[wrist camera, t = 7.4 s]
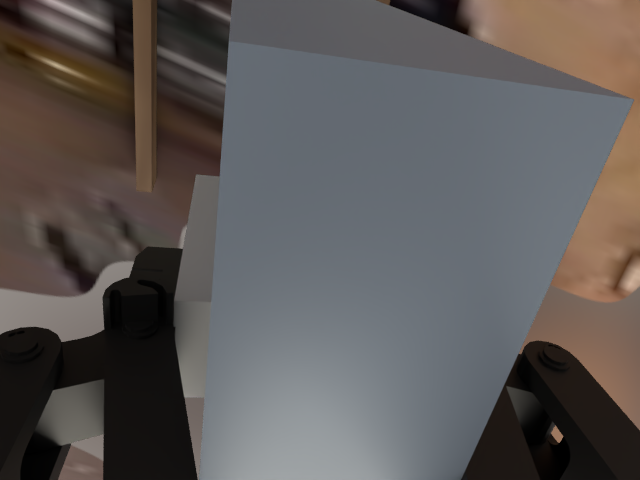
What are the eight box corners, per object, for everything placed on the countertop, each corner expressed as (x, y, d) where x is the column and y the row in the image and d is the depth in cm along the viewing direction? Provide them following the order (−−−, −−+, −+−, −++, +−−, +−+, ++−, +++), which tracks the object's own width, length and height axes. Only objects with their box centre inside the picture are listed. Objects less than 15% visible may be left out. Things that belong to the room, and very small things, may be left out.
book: (208, 346, 21) (182, 722, 11) (234, -26, 15) (228, 41, 4) (302, 348, 22) (360, 701, 12) (367, -3, 15) (633, 100, 5)
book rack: (142, 176, 37) (92, 300, 24) (138, -144, 28) (54, -223, 15) (341, 193, 40) (392, 311, 27) (396, -91, 31) (513, -118, 18)
